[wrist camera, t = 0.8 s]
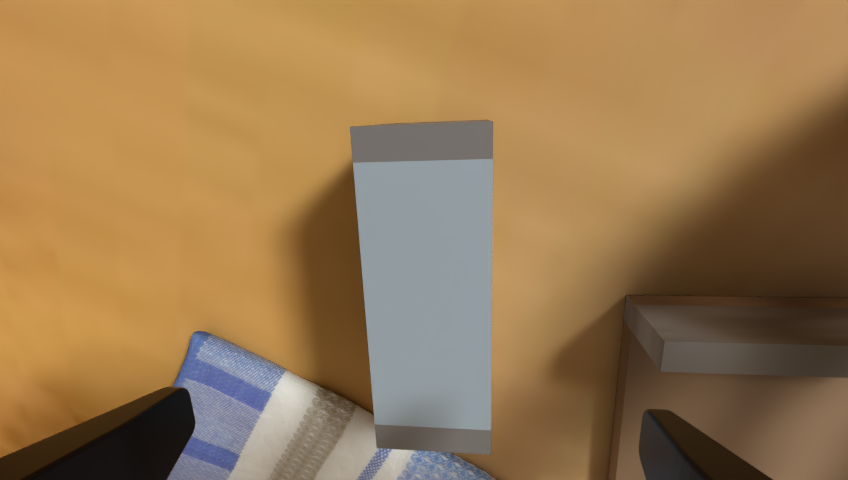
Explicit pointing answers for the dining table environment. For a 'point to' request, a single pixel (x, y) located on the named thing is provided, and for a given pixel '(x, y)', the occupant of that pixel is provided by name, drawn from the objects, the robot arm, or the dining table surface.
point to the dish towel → (286, 426)
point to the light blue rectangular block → (427, 280)
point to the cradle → (739, 379)
